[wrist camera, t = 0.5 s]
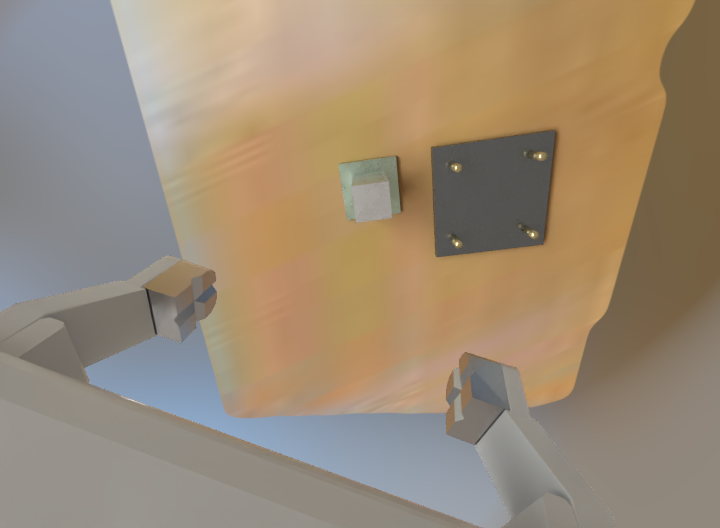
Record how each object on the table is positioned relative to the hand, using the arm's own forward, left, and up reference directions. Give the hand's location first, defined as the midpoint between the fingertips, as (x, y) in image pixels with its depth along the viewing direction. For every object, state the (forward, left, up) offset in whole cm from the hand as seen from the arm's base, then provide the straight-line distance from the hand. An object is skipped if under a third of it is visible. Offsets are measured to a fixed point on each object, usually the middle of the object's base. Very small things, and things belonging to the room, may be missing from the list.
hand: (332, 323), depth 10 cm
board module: (+4, +2, -44) cm, 44 cm away
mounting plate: (+8, +21, -43) cm, 49 cm away
